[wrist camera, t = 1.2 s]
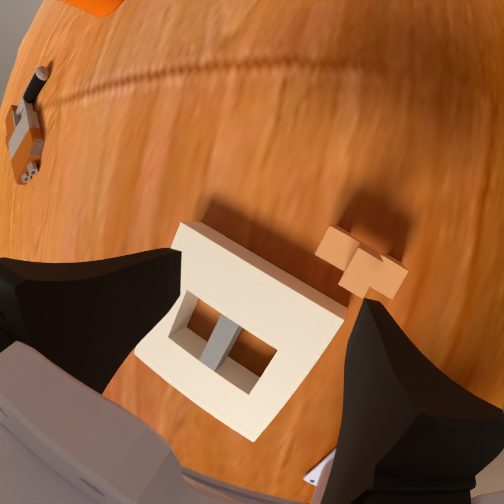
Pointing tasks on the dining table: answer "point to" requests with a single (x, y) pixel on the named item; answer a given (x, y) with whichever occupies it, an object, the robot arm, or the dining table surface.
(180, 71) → the dining table surface
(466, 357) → the dining table surface
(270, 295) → the square window frame
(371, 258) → the notched wooden block
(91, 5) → the shaker bottle
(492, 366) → the dining table surface
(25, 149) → the toy gun
